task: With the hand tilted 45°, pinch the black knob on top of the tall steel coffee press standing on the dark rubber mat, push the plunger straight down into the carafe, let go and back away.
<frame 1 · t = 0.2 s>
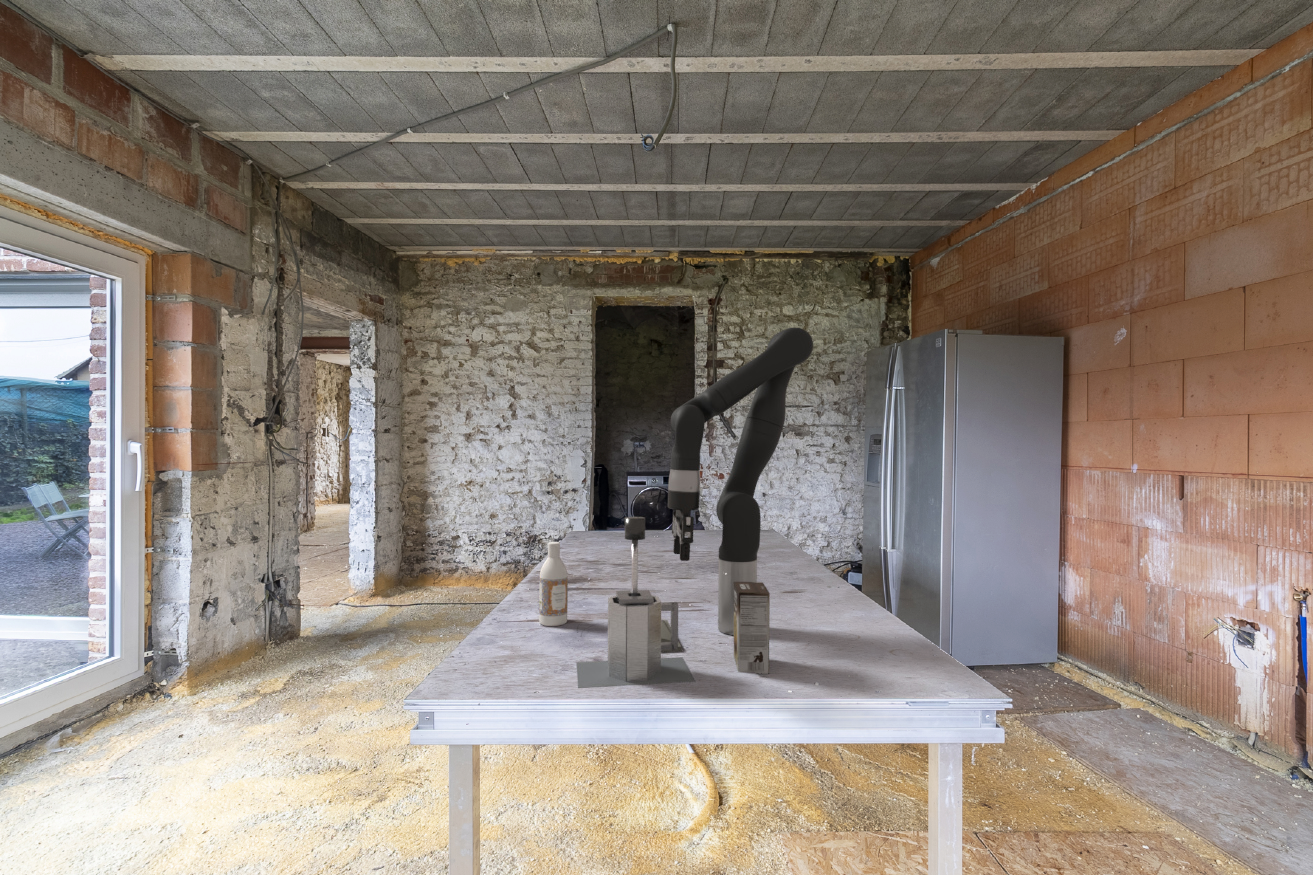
hand: (681, 557, 145), 18 cm above the table, tool pointing down, fingers open, 8 cm apart
bath foam: (553, 623, 152), on the table
coffee box: (750, 666, 124), on the table
carafe: (633, 671, 119), resting on mat
mat: (633, 673, 119), on the table
plunger: (634, 572, 119), point 20 cm above the table, slide at 0.0 cm
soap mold: (653, 642, 140), on the table
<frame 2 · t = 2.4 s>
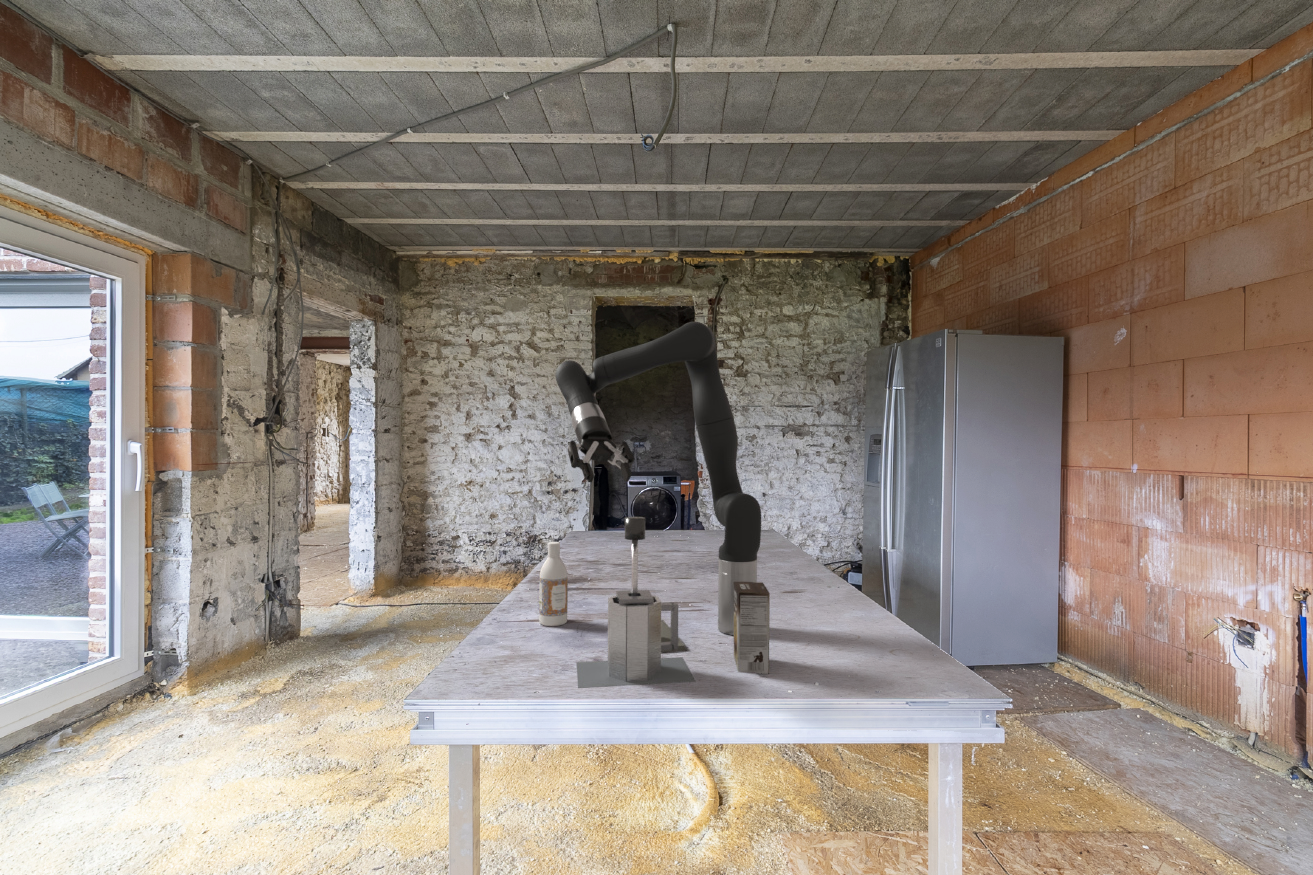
hand: (609, 479, 130), 37 cm above the table, tool tilted 45°, fingers open, 8 cm apart
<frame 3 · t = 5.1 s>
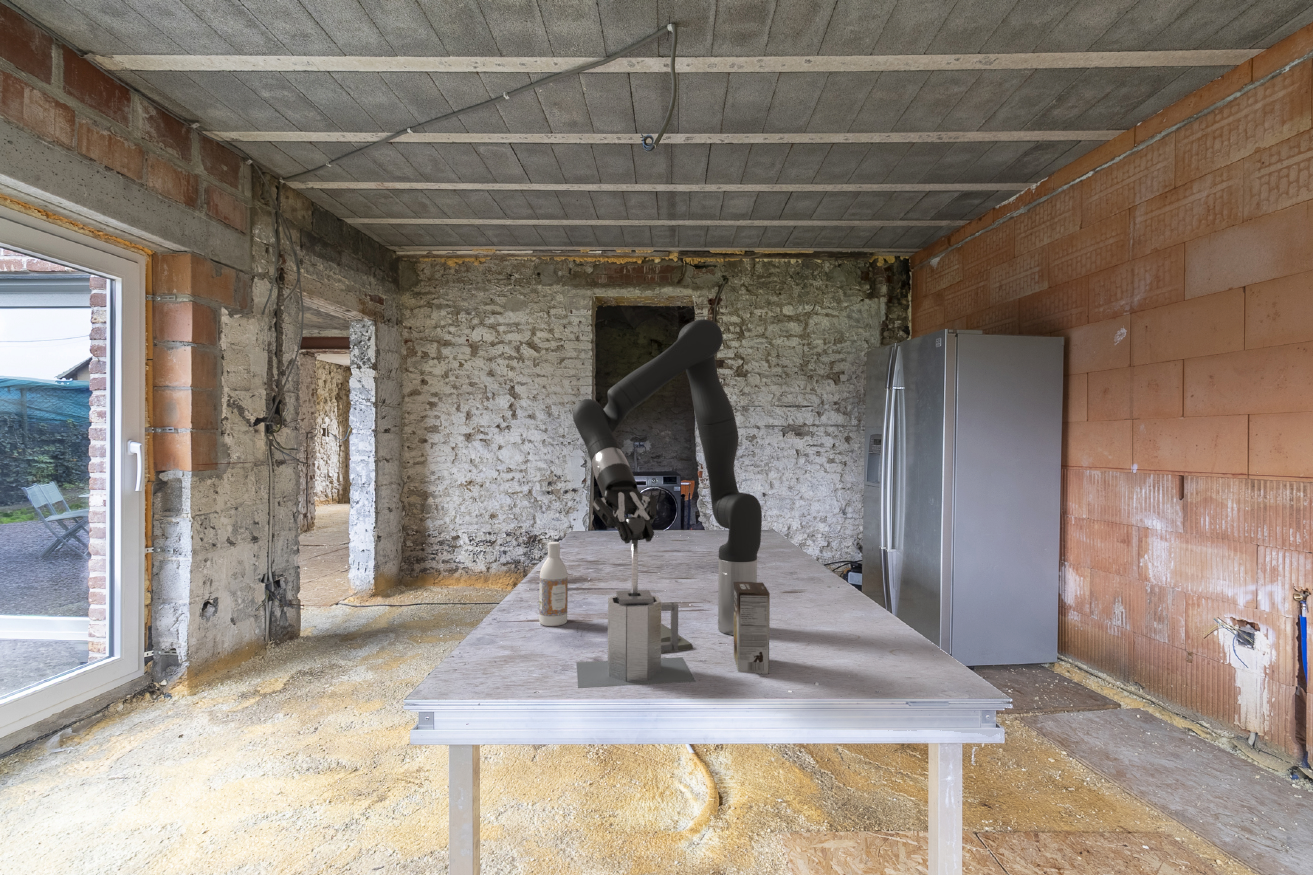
hand: (639, 539, 118), 26 cm above the table, tool tilted 45°, fingers closed on plunger, 4 cm apart
plunger: (634, 572, 119), point 20 cm above the table, slide at 0.0 cm, touching gripper
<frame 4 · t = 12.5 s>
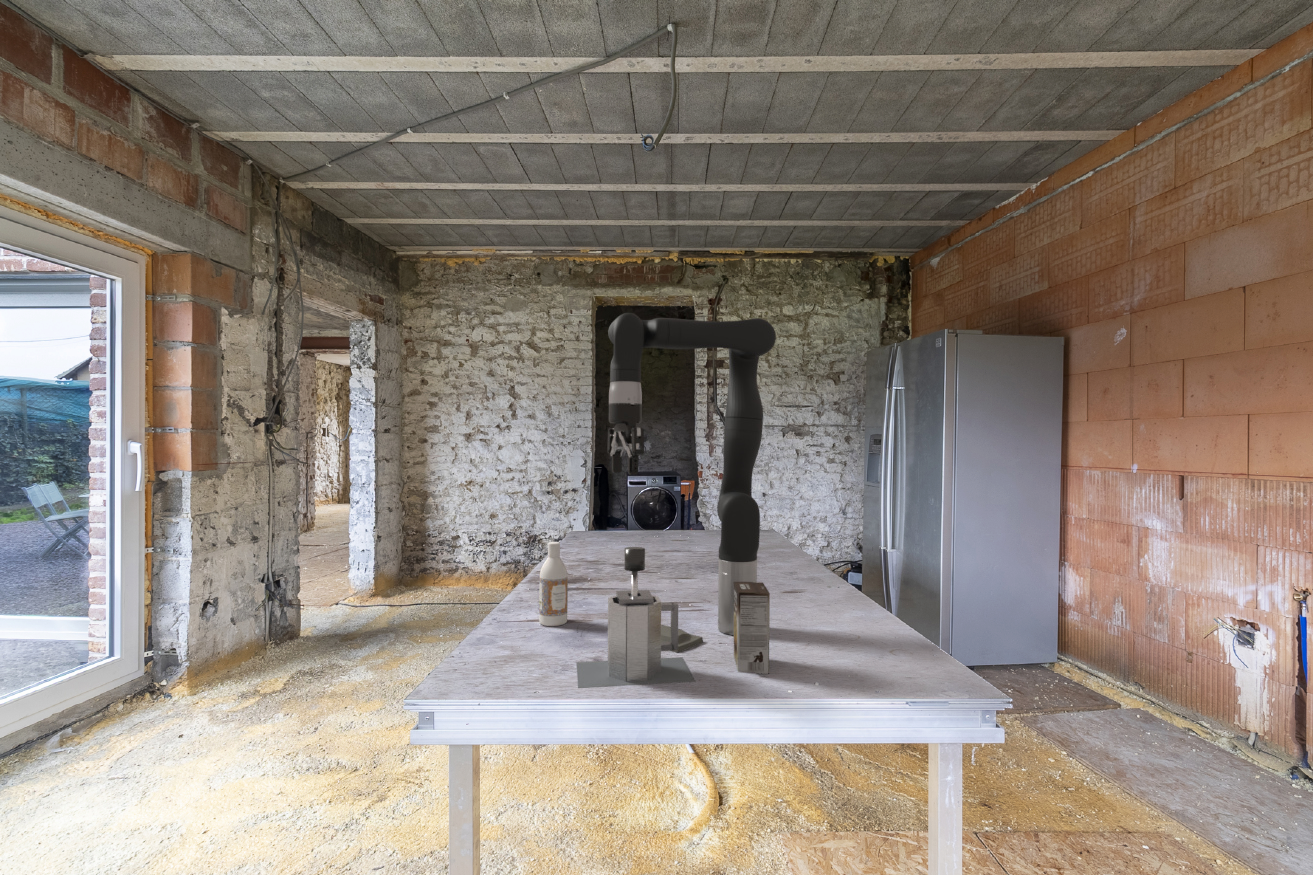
hand: (624, 473, 139), 38 cm above the table, tool pointing down, fingers open, 8 cm apart
plunger: (634, 603, 119), point 14 cm above the table, slide at 6.0 cm
at the end: plunger slide at 6.0 cm; the gripper is holding nothing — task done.
